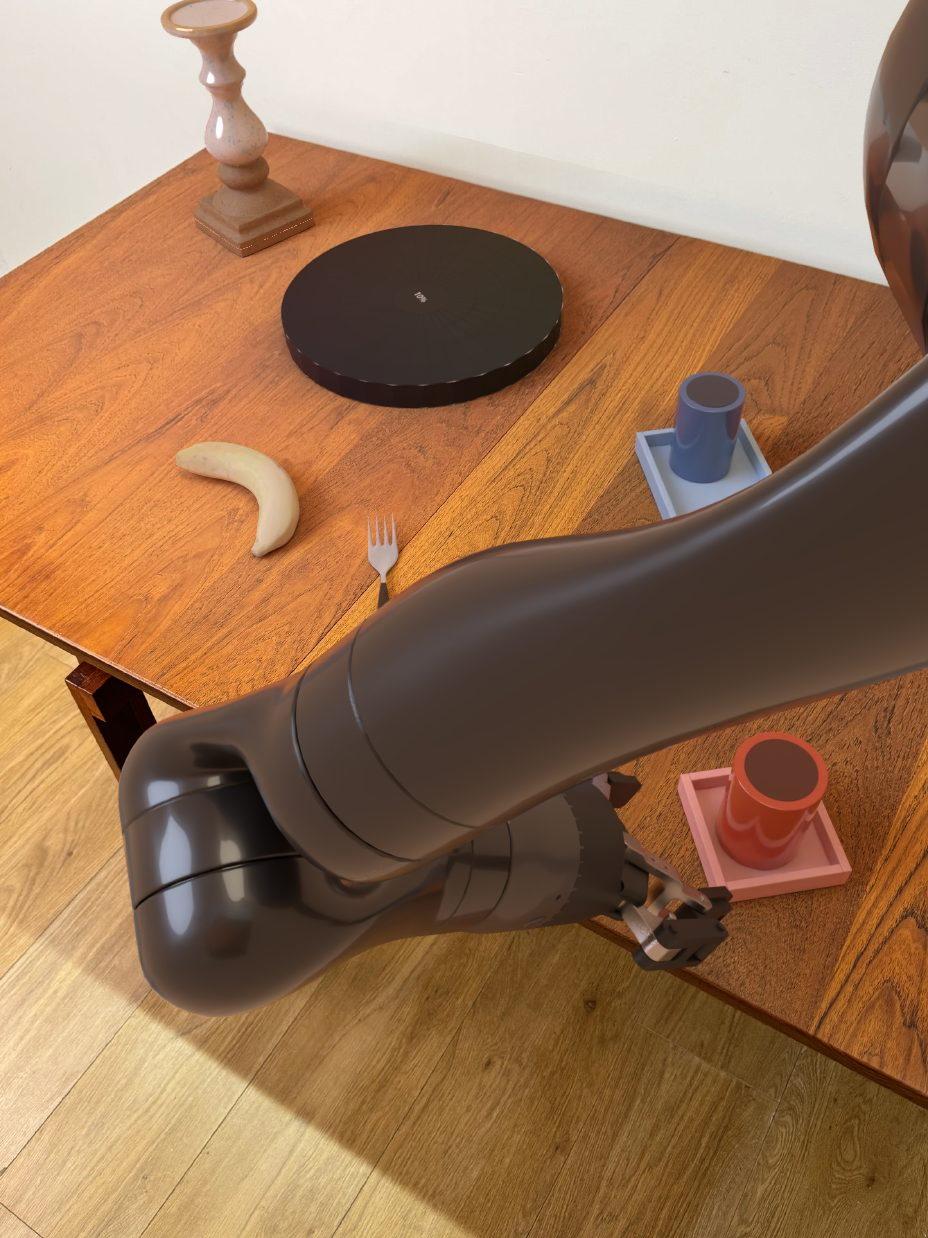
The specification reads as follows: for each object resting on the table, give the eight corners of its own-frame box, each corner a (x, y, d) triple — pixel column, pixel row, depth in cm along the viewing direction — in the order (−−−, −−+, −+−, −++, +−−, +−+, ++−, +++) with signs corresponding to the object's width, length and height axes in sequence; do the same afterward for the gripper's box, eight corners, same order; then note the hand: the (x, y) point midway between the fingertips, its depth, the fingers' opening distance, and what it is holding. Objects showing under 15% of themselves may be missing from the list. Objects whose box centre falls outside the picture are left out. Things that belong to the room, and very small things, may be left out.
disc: (621, 323, 106) (623, 298, 104) (397, 449, 95) (394, 424, 92) (444, 221, 122) (443, 197, 119) (233, 318, 110) (227, 294, 108)
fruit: (243, 441, 96) (235, 413, 94) (327, 524, 88) (321, 497, 86) (177, 474, 94) (167, 447, 91) (258, 563, 86) (249, 535, 83)
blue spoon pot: (720, 439, 93) (734, 367, 87) (739, 479, 89) (755, 406, 83) (661, 447, 92) (671, 375, 86) (678, 487, 89) (689, 415, 83)
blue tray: (740, 434, 94) (744, 417, 92) (820, 593, 81) (826, 576, 79) (634, 448, 93) (636, 432, 92) (698, 610, 80) (701, 594, 79)
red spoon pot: (783, 789, 69) (808, 724, 63) (813, 863, 65) (843, 802, 59) (704, 802, 69) (722, 737, 62) (730, 876, 65) (751, 816, 59)
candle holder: (242, 258, 118) (190, 39, 100) (194, 225, 124) (136, 12, 105) (317, 224, 122) (280, 8, 104) (267, 193, 128) (224, -17, 110)
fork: (369, 675, 78) (366, 660, 76) (368, 530, 88) (365, 514, 86) (402, 672, 78) (400, 657, 76) (397, 528, 88) (395, 512, 86)
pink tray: (797, 770, 70) (803, 755, 69) (844, 884, 65) (852, 870, 63) (677, 789, 70) (680, 774, 68) (714, 905, 64) (719, 892, 63)
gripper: (653, 919, 42) (798, 899, 55) (479, 689, 50) (640, 717, 63) (545, 1027, 45) (708, 985, 57) (396, 791, 53) (566, 799, 65)
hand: (672, 845), depth 60 cm, fingers open, 8 cm apart
